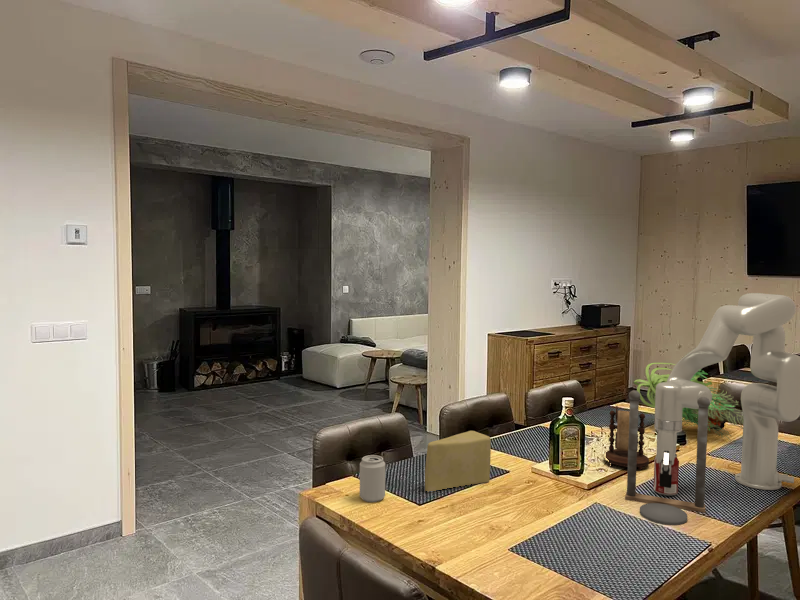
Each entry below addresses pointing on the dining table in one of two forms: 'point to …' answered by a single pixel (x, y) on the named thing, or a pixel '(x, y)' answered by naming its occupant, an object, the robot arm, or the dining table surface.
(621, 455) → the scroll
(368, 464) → the can
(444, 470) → the cheese
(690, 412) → the plant
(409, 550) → the dining table surface
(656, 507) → the coaster
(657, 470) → the soda can
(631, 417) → the gate
